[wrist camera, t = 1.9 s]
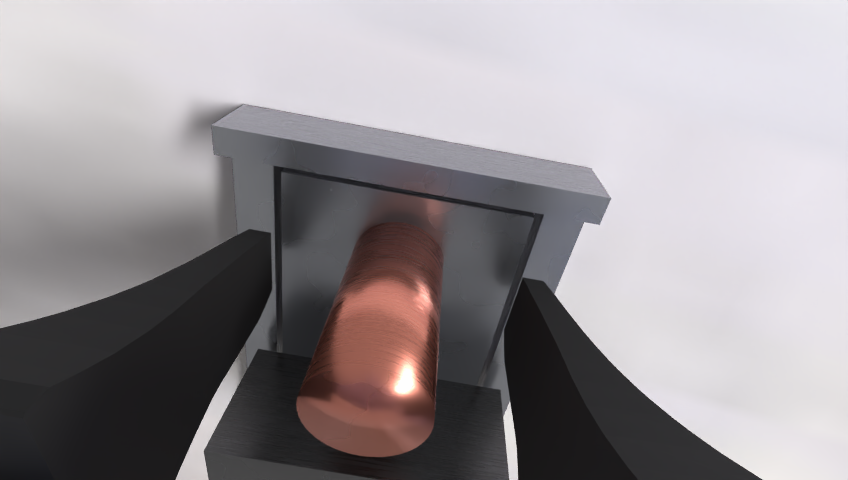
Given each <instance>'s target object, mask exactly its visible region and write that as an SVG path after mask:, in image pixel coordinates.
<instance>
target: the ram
mask: <svg viewBox="0 0 848 480" xmlns="http://www.w3.org/2000/svg"><path fill="white" fill-rule="evenodd" d="M281 213H282V326H283V353H281V352H275V351H269V350H263V349H258V350H257V352H256V354H255V356H254V357H253V359H252V361H251V363H250V365H249V367H248V369H247V371H246V373H245V374H244V376H243V378H242V380H241V382H240V384H239V386H238V388H237V390H236V391H235V393H234V395H233V397H232V399H231V401H230V403H229V405H228V407H227V408H226V410H225V412H224V414H223V416H222V418H221V420H220V422H219V423H218V425H217V427H216V429H215V431H214V433H213V435H212V437H211V439H210V440H209V442H208V444H207V446H206V448H205V450H204V455H205V461H206V466H207V472H208V478H209V480H509V474H508V464H507V453H506V443H505V432H504V422H503V411H502V401H501V390H499V389H493V388H487V387H481V386H477V383H478V380H479V377H480V374H481V371H482V368H483V366H484V363H485V360H486V357H487V354H488V351H489V348H490V345H491V342H492V339H493V337H494V334H495V331H496V328H497V325H498V322H499V319H500V316H501V313H502V310H503V307H504V305H505V302H506V299H507V296H508V293H509V290H510V287H511V284H512V281H513V278H514V276H515V273H516V270H517V267H518V264H519V261H520V258H521V255H522V252H523V249H524V246H525V244H526V241H527V238H528V235H529V232H530V229H531V226H532V223H533V220H534V215H533V212H527V211H521V210H516V209H510V208H505V207H499V206H494V205H488V204H483V203H477V202H472V201H466V200H461V199H455V198H450V197H444V196H439V195H433V194H428V193H422V192H417V191H411V190H406V189H400V188H395V187H389V186H384V185H378V184H373V183H367V182H362V181H356V180H351V179H345V178H340V177H334V176H329V175H323V174H317V173H312V172H306V171H301V170H295V169H290V168H284V169H283V171H282V172H281Z"/></svg>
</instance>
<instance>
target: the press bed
mask: <svg viewBox="0 0 848 480" xmlns="http://www.w3.org/2000/svg"><path fill="white" fill-rule="evenodd" d="M211 129H212V140H213V150H214V155H218V156H224V157H229V158H232V166H233V180H234V194H235V208H236V222H237V235H238V234H240V233H242V232H244V231H246V230H248V229H253V230H258V231H264V232H270V233H271V256H272V292H271V294H270V296H269V299H268V301H267V304H266V306H265V308H264V310H263V313H262V315H261V317H260V319H259V321H258V323H257V325H256V326H255V328H254V330H253V331H252V333H251V335H250V336H249V338H248V340H247V341H246V343H245V346H246V360H247V369H248V367H249V365H250V363H251V361H252V359H253V357H254V356H255V354H256V352H257V350H258V349H263V350H269V351H275V352H281V353H283V326H282V213H281V172H282V171H283V169H284V168H290V169H295V170H301V171H306V172H312V173H317V174H323V175H329V176H334V177H340V178H345V179H351V180H356V181H362V182H367V183H373V184H378V185H384V186H389V187H395V188H400V189H406V190H411V191H417V192H422V193H428V194H433V195H439V196H444V197H450V198H455V199H461V200H466V201H472V202H477V203H483V204H488V205H494V206H499V207H505V208H510V209H516V210H521V211H527V212H533V213H534V220H533V223H532V226H531V229H530V232H529V235H528V238H527V241H526V244H525V246H524V249H523V252H522V255H521V258H520V261H519V264H518V267H517V270H516V273H515V276H514V278H513V281H512V284H511V287H510V290H509V293H508V296H507V299H506V302H505V305H504V307H503V310H502V313H501V316H500V319H499V322H498V325H497V328H496V331H495V334H494V337H493V339H492V342H491V345H490V348H489V351H488V354H487V357H486V360H485V363H484V366H483V368H482V371H481V374H480V377H479V380H478V383H477V386H481V387H487V388H493V389H499V390H501V401H502V411H503V416H504V413H505V411H506V409H507V406H508V404H509V401H510V396H509V390H508V383H507V376H506V370H505V362H504V328H505V325H506V322H507V320H508V317H509V314H510V311H511V309H512V306H513V303H514V300H515V297H516V295H517V292H518V289H519V286H520V283H521V281H522V278H523V277H524V278H529V279H535V280H541V281H544V282H545V283H546V284H547V286H548V287H549V288H550V290H551V291H552V292H553V293H555V291H556V288H557V286H558V284H559V281H560V279H561V276H562V274H563V272H564V269H565V267H566V264H567V262H568V260H569V257H570V255H571V252H572V250H573V248H574V245H575V243H576V240H577V238H578V236H579V233H580V231H581V228H582V226H583V224H584V222H588V223H593V224H599V225H600V222H601V220H602V218H603V216H604V213H605V211H606V209H607V206H608V204H609V202H610V200H611V198H610V196H609V195H608V193H607V191H606V190H605V188H604V187H603V185H602V184H601V182H600V181H599V179H598V178H597V176H596V175H595V173H594V172H593V170H592V169H591V168H586V167H580V166H575V165H570V164H564V163H559V162H553V161H548V160H542V159H537V158H532V157H526V156H521V155H515V154H510V153H505V152H499V151H494V150H488V149H483V148H478V147H472V146H467V145H461V144H456V143H451V142H445V141H440V140H434V139H429V138H424V137H418V136H413V135H407V134H402V133H396V132H391V131H386V130H380V129H375V128H369V127H364V126H359V125H353V124H348V123H342V122H337V121H332V120H326V119H321V118H315V117H310V116H305V115H299V114H294V113H288V112H283V111H278V110H272V109H267V108H261V107H256V106H250V105H245V104H244V105H242V106H241V107H239V108H237V109H236V110H234V111H233V112H231V113H229V114H228V115H226V116H225V117H223V118H222V119H220V120H218V121H217V122H215V123H214V124H212V125H211Z"/></svg>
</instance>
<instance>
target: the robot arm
mask: <svg viewBox="0 0 848 480" xmlns="http://www.w3.org/2000/svg"><path fill="white" fill-rule="evenodd" d="M271 292H272V256H271V233H270V232H264V231H258V230H253V229H248V230H246V231H244V232H242V233H240V234H238V235H237V236H235V237H233V238H231V239H229V240H228V241H226V242H224V243H222V244H220V245H219V246H217V247H215V248H213V249H211V250H210V251H208V252H206V253H204V254H202V255H200V256H199V257H197V258H195V259H193V260H191V261H189V262H187V263H185V264H183V265H181V266H179V267H177V268H175V269H173V270H171V271H169V272H167V273H165V274H163V275H161V276H159V277H156V278H154V279H152V280H150V281H148V282H145V283H143V284H141V285H138V286H136V287H133V288H131V289H128V290H126V291H123V292H121V293H118V294H115V295H113V296H110V297H107V298H105V299H102V300H98V301H95V302H92V303H89V304H86V305H83V306H80V307H77V308H74V309H71V310H68V311H65V312H61V313H58V314H55V315H51V316H47V317H44V318H40V319H36V320H33V321H29V322H25V323H20V324H16V325H12V326H8V327H4V328H0V480H175V479H176V477H177V475H178V472H179V470H180V467H181V465H182V463H183V461H184V459H185V456H186V454H187V452H188V450H189V447H190V445H191V443H192V441H193V438H194V436H195V434H196V432H197V430H198V428H199V425H200V423H201V421H202V419H203V417H204V415H205V413H206V411H207V409H208V406H209V404H210V402H211V400H212V398H213V396H214V395H215V393H216V391H217V389H218V387H219V386H220V384H221V382H222V380H223V379H224V377H225V376H226V374H227V372H228V371H229V369H230V367H231V366H232V364H233V362H234V361H235V359H236V358H237V356H238V354H239V353H240V351H241V349H242V348H243V346H244V344H245V343H246V341H247V340H248V338H249V336H250V335H251V333H252V331H253V330H254V328H255V326H256V325H257V323H258V321H259V319H260V317H261V315H262V313H263V310H264V308H265V306H266V304H267V301H268V299H269V296H270V294H271ZM504 362H505V370H506V376H507V383H508V390H509V396H510V403H511V409H512V416H513V422H514V429H515V436H516V445H517V460H518V480H762V479H761V478H759V477H757V476H756V475H754V474H753V473H751V472H750V471H748V470H746V469H745V468H743V467H742V466H740V465H739V464H737V463H735V462H734V461H732V460H731V459H729V458H728V457H726V456H724V455H723V454H721V453H720V452H718V451H717V450H715V449H714V448H713V447H711V446H710V445H708V444H707V443H706V442H704V441H703V440H701V439H700V438H699V437H697V436H696V435H695V434H693V433H692V432H690V431H689V430H688V429H686V428H685V427H684V426H682V425H681V424H680V423H678V422H677V421H676V420H675V419H673V418H672V417H671V416H670V415H668V414H667V413H666V412H665V411H663V410H662V409H661V408H660V407H659V406H657V405H656V404H655V403H654V402H653V401H651V400H650V399H649V398H648V397H647V396H646V395H644V394H643V393H642V392H641V391H640V390H639V389H638V388H637V387H636V386H634V385H633V384H632V383H631V382H630V381H629V380H628V379H627V378H626V377H625V376H624V375H623V374H622V373H621V372H620V371H619V370H618V369H617V368H616V367H615V366H614V365H613V364H612V363H611V362H610V361H609V360H608V359H607V358H606V357H605V356H604V355H603V353H602V352H601V351H600V350H599V349H598V348H597V347H596V346H595V345H594V344H593V342H592V341H591V340H590V339H589V338H588V337H587V335H586V334H585V333H584V332H583V331H582V329H581V328H580V327H579V326H578V324H577V323H576V322H575V321H574V319H573V318H572V317H571V316H570V314H569V313H568V312H567V310H566V309H565V308H564V307H563V305H562V304H561V303H560V301H559V300H558V299H557V297H556V296H555V295H554V293H553V292H552V291H551V290H550V288H549V287H548V286H547V284H546V283H545V282H544V281H541V280H535V279H529V278H524V277H523V278H522V281H521V283H520V286H519V289H518V292H517V295H516V297H515V300H514V303H513V306H512V309H511V311H510V314H509V317H508V320H507V322H506V325H505V328H504Z"/></svg>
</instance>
